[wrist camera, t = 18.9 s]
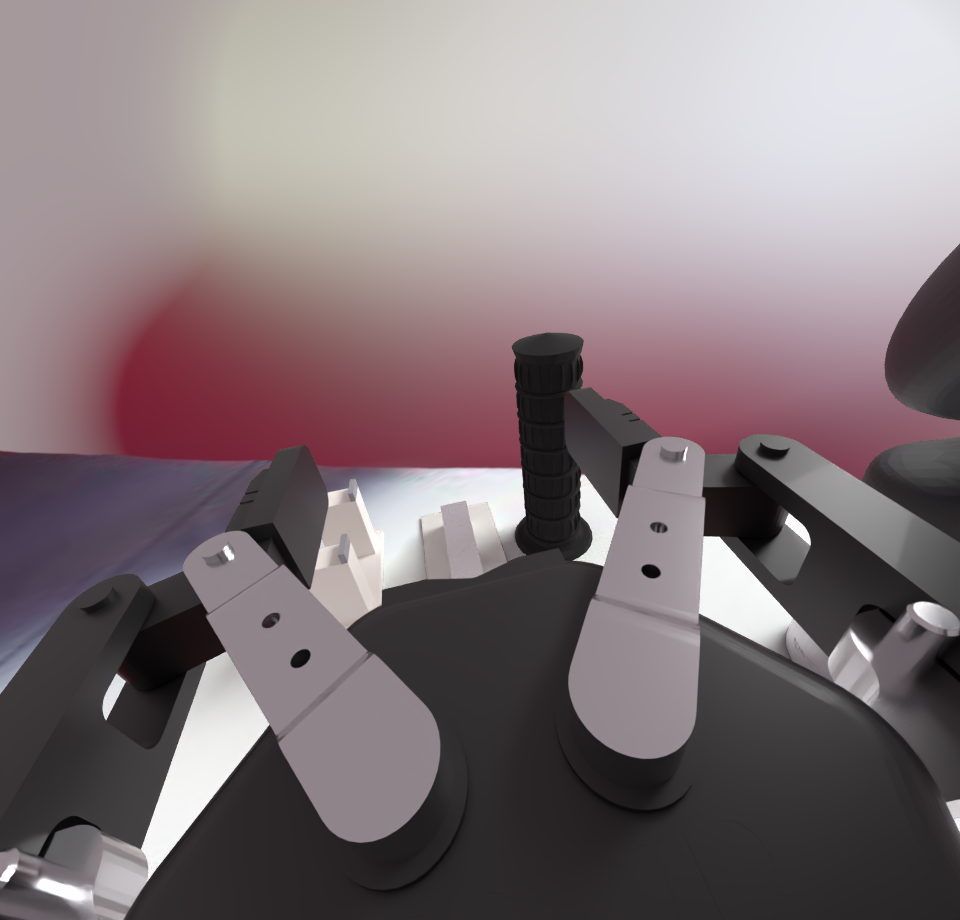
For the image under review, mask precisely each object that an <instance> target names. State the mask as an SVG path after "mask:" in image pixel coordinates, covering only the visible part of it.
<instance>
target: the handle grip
mask: <svg viewBox="0 0 960 920" xmlns="http://www.w3.org/2000/svg"><path fill="white" fill-rule="evenodd" d="M583 342H584V341H583V339H582V338H581V337H579V336H576V335H573V334H567V333H543V334H537V335H532V336H529V337H525V338H522V339H520V340H518V341H516V342H515V343H514V344H513V345H512V349H513V352H514V354H515V356H516V359H515V363H514V373H515V378H516V381H517V382H516V384H515V388H516V390H517V396H516V397H517V408H518V412H517V415H518V418H519V434H520V438H519V441H520V444H521V458H522V460H521V465H522V475H523V488H524V500H525V503H524V505H525V510H526V516H525V517H524V518H523V519H522V520H521V522H520V523H519V525H518V526H517V528H516V531H515V540H516V543H517V545H518V547H519V548H520V549H521V551H522V552H523V553H525V554H526V555H531V554H535V553H539V552H543V551H548V550H552V549H556V548H559V549H560V551H561V554H562V556H563V558H564V560H565V561H572V560H574V559H576V558H578V557H580V556H581V555H583V554H584V553H585V552H586V551H587V550H588V549H589V547H590V546H591V542H592V531H591V529H590V527H589V525H588V523H587V522H586V521H585V520H584V519H583V518H582V517H580V513H579V509H580V487H581V482H580V477H581V470H580V467H579V466H578V465H577V463H576V462H575V460H574V459H573V458H572V456H571V455H570V453H569V451H568V449H567V446H566V442H565V418H564V397H565V394H566V392H569V391H574V390H579V389H581V387H582V384H583V381H582V379H581V375H582V372H583V361H582V358H581V355H580V353H581V351H582V346H583Z"/></svg>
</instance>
